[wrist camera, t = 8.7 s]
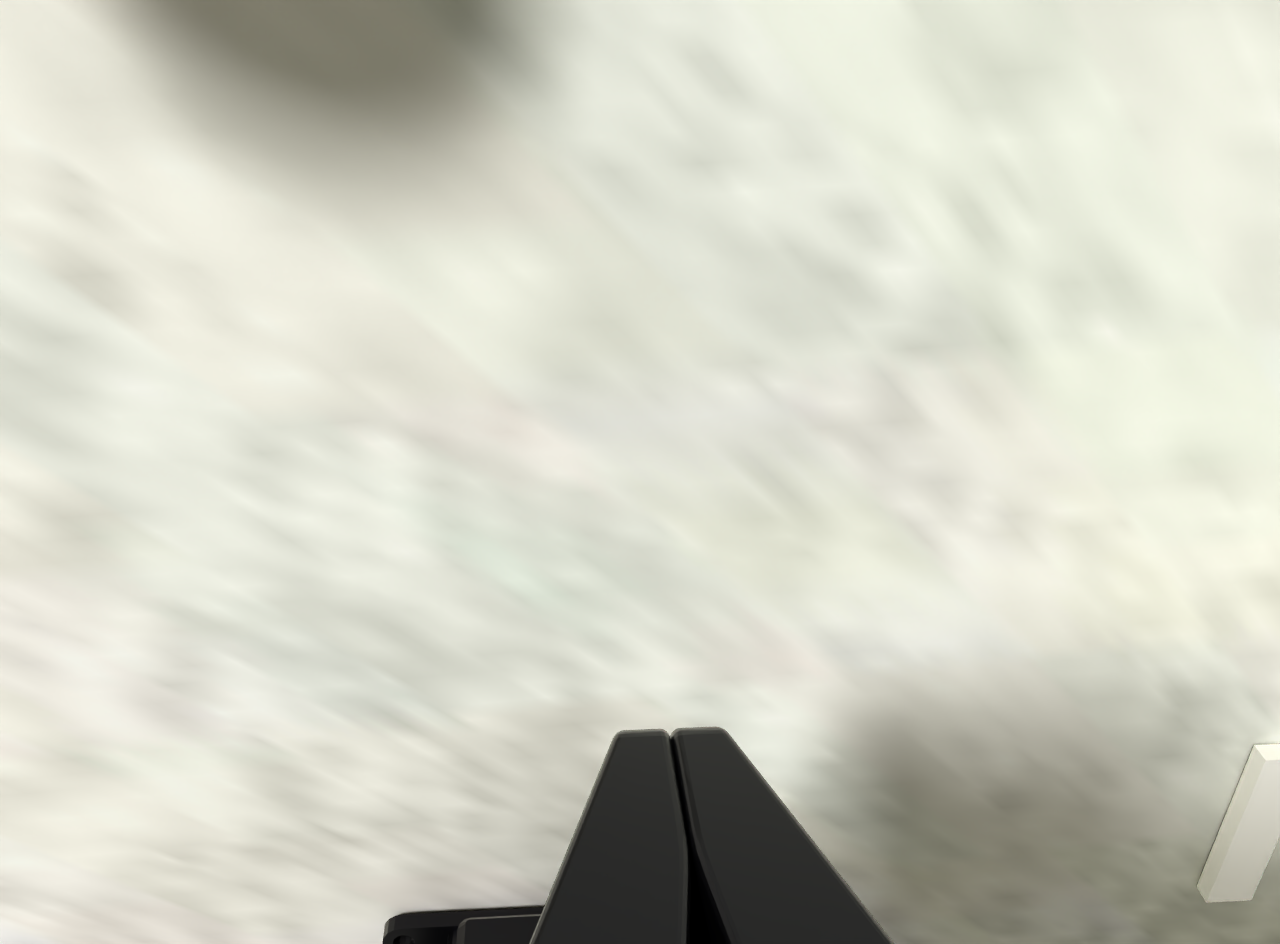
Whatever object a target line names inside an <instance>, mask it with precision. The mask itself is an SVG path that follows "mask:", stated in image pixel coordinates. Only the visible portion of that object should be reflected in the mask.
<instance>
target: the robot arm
mask: <svg viewBox="0 0 1280 944" xmlns="http://www.w3.org/2000/svg"><path fill="white" fill-rule="evenodd" d="M383 944H894V943H893V941H892V940H891V939H890V938H889V936H888V935H887V934H886V933H885V931H884V930H883V929H882V927H881V926H880V925H879V924H878V922H877V921H876V920H875V919H874V917H873V916H872V915H871V913H870V912H869V911H868V910H867V908H866V907H865V906H864V905H863V903H862V902H861V901H860V900H859V898H858V897H857V896H856V894H855V893H854V892H853V891H852V889H851V888H850V887H849V886H848V884H847V883H846V882H845V881H844V879H843V878H842V877H841V875H840V874H839V873H838V872H837V870H836V869H835V868H834V867H833V865H832V864H831V863H830V861H829V860H828V859H827V858H826V856H825V855H824V854H823V853H822V851H821V850H820V849H819V848H818V846H817V845H816V844H815V842H814V841H813V840H812V839H811V837H810V836H809V835H808V834H807V832H806V831H805V830H804V829H803V827H802V826H801V825H800V823H799V822H798V821H797V820H796V818H795V817H794V816H793V815H792V813H791V812H790V811H789V809H788V808H787V807H786V806H785V804H784V803H783V802H782V801H781V799H780V798H779V797H778V796H777V794H776V793H775V792H774V790H773V789H772V788H771V787H770V785H769V784H768V783H767V782H766V780H765V779H764V778H763V777H762V775H761V774H760V773H759V771H758V770H757V769H756V768H755V766H754V765H753V764H752V763H751V761H750V760H749V759H748V757H747V756H746V755H745V754H744V752H743V751H742V750H741V749H740V747H739V746H738V745H737V744H736V742H735V741H734V740H733V738H732V737H731V736H730V735H729V734H728V732H727V731H725V730H724V729H722V728H720V727H696V728H678V729H676V730H674V731H673V732H672V734H671V736H669V734H668V733H667V732H666V731H665V730H663V729H646V730H623V731H620V732H618V733H617V734H616V735H615V736H614V738H613V740H612V742H611V744H610V747H609V749H608V752H607V754H606V757H605V759H604V762H603V764H602V767H601V769H600V771H599V774H598V776H597V779H596V781H595V784H594V786H593V789H592V791H591V793H590V796H589V798H588V801H587V803H586V806H585V808H584V811H583V813H582V816H581V818H580V820H579V823H578V825H577V828H576V830H575V833H574V835H573V838H572V840H571V842H570V845H569V847H568V850H567V852H566V855H565V857H564V860H563V862H562V865H561V867H560V869H559V872H558V874H557V877H556V879H555V882H554V884H553V887H552V889H551V891H550V894H549V896H548V899H547V901H546V904H545V906H544V907H539V908H520V909H500V910H480V911H461V912H441V913H422V914H403V915H398V916H394V917H392V918H391V919H389V920H388V921H387V922H386V924H385V929H384V936H383Z"/></svg>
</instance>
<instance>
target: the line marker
mask: <svg viewBox="0 0 1280 944" xmlns="http://www.w3.org/2000/svg"><path fill="white" fill-rule="evenodd" d="M1279 838H1280V744H1263V745H1254V746H1253V749H1252V751H1251V754H1250V756H1249V758H1248V761H1247V763H1246V766H1245V768H1244V771H1243V773H1242V776H1241V778H1240V781H1239V783H1238V786H1237V788H1236V790H1235V793H1234V795H1233V798H1232V800H1231V803H1230V805H1229V808H1228V810H1227V813H1226V815H1225V818H1224V820H1223V822H1222V825H1221V827H1220V830H1219V832H1218V835H1217V837H1216V840H1215V842H1214V845H1213V847H1212V849H1211V852H1210V854H1209V857H1208V859H1207V862H1206V864H1205V867H1204V869H1203V872H1202V874H1201V877H1200V879H1199V881H1198V884H1197V886H1196V887H1197V888H1198V890H1199V892H1200V893H1201V895H1202V897H1203V898H1204V900H1205V902H1206V903H1211V902H1230V901H1249V900H1252V898H1253V896H1254V893H1255V891H1256V889H1257V887H1258V884H1259V882H1260V880H1261V878H1262V876H1263V873H1264V871H1265V869H1266V867H1267V864H1268V862H1269V860H1270V858H1271V855H1272V853H1273V851H1274V849H1275V847H1276V844H1277V842H1278V840H1279Z"/></svg>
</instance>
